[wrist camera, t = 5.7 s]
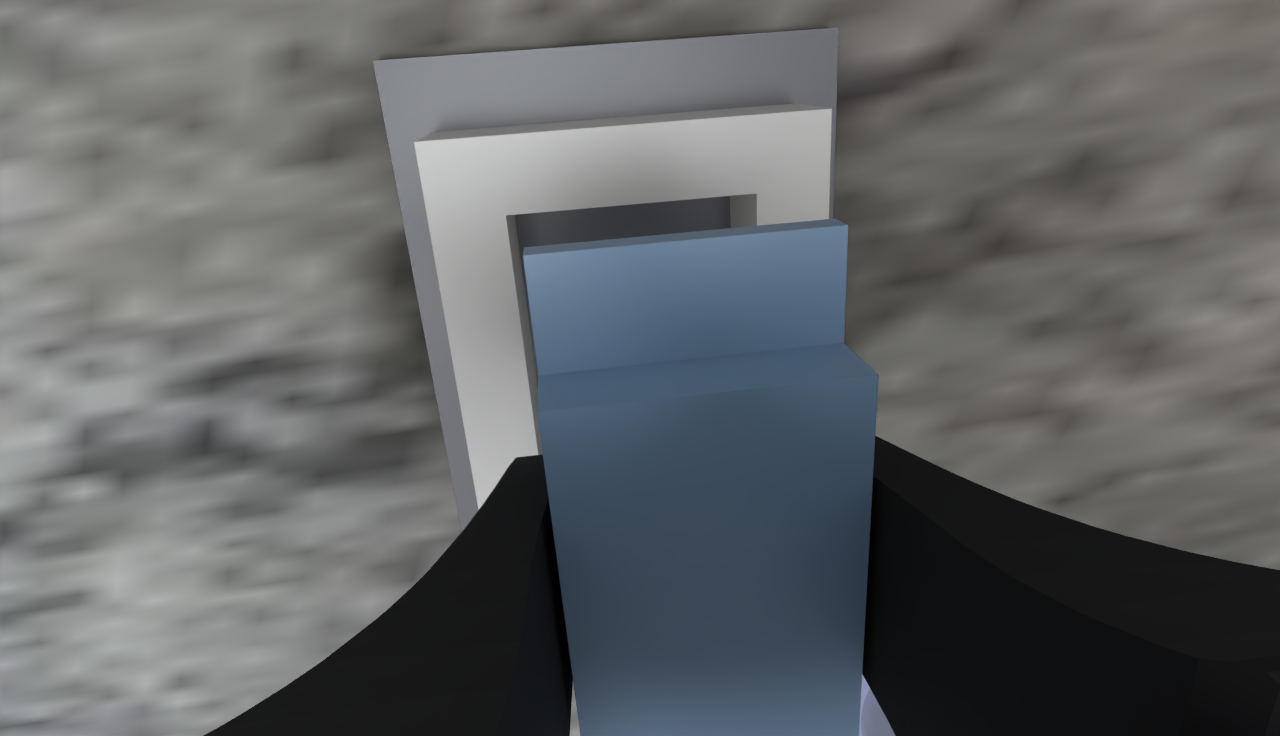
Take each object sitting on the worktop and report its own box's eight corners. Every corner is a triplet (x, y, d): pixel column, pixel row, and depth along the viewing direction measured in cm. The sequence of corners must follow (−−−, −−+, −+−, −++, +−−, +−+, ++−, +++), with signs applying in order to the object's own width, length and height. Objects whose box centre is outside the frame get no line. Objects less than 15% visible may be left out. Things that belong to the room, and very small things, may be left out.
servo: (774, 186, 11) (885, 244, 7) (774, 634, 14) (853, 832, 10) (529, 208, 11) (518, 279, 7) (586, 659, 14) (599, 872, 10)
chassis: (829, 28, 17) (885, 20, 14) (817, 517, 22) (857, 584, 19) (378, 60, 16) (341, 58, 13) (471, 559, 21) (458, 636, 18)
